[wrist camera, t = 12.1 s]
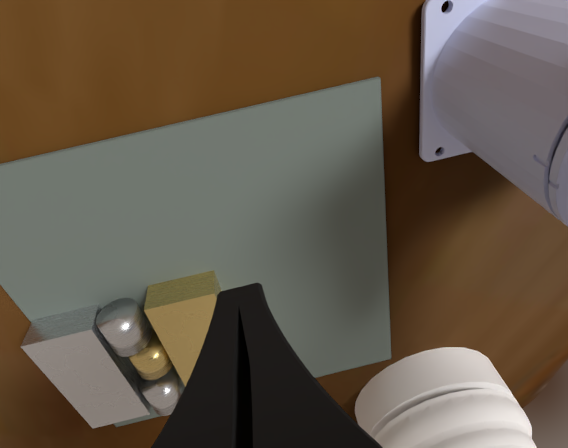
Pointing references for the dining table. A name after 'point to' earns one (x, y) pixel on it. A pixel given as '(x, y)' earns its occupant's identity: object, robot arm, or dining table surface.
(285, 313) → the mat
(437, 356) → the honey pot
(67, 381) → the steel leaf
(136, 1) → the dining table surface
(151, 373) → the tan knobbed block
